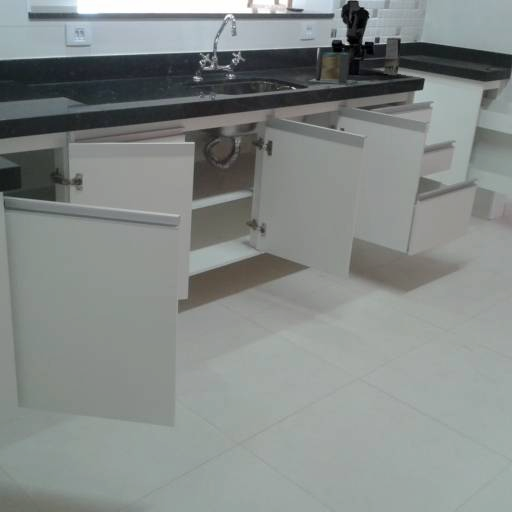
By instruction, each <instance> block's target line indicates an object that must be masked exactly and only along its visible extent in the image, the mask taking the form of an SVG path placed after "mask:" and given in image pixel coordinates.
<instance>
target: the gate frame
mask: <svg viewBox="0 0 512 512" xmlns="http://www.w3.org/2000/svg"><path fill="white" fill-rule="evenodd" d="M322 55H323V47H317V51H316V70H315V73H316V74H315V78H316V81H320V80H321V73H322ZM348 57H349V55H340V69H339V83H345V84H346V83H347V72H348Z"/></svg>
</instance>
